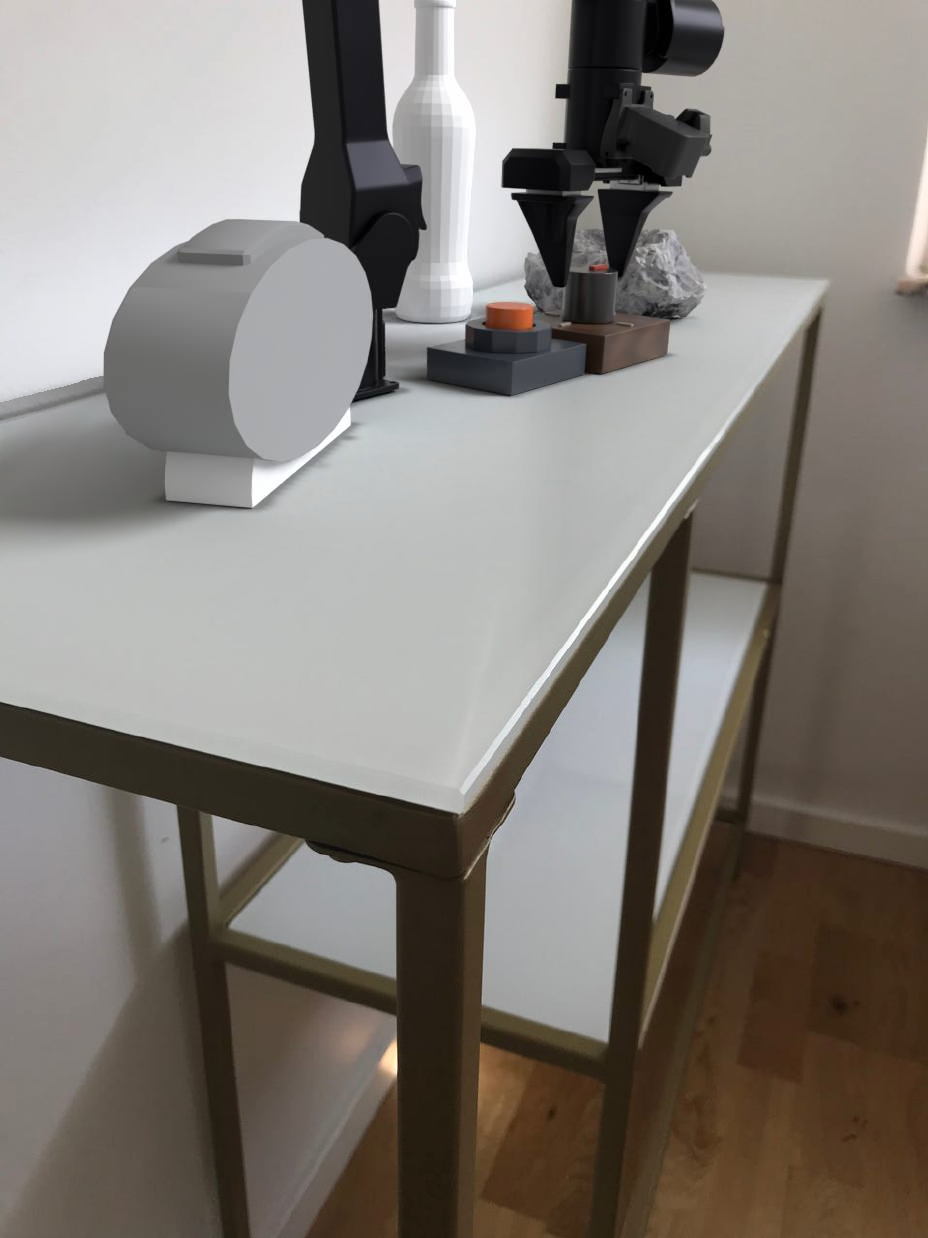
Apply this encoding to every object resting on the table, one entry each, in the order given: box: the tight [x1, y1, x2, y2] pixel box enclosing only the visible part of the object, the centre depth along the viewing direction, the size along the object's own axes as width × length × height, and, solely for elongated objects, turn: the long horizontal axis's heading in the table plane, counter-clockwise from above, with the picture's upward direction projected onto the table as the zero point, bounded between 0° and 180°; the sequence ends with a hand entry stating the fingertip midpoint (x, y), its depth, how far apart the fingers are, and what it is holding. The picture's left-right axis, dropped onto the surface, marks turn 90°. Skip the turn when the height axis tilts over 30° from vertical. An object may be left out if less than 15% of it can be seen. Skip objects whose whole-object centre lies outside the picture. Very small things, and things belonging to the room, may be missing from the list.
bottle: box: [391, 0, 477, 324], centre depth 98 cm, size 8×8×30 cm
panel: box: [533, 309, 671, 375], centre depth 88 cm, size 11×10×3 cm
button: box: [485, 301, 534, 329], centre depth 78 cm, size 4×4×2 cm
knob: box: [562, 264, 618, 324], centre depth 86 cm, size 4×4×4 cm
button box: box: [426, 317, 586, 396], centre depth 79 cm, size 10×8×4 cm
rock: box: [523, 227, 708, 319], centre depth 106 cm, size 18×15×10 cm
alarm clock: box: [102, 218, 373, 509], centre depth 56 cm, size 23×6×13 cm, turn 169°
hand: (589, 282), depth 86 cm, fingers open, 9 cm apart
